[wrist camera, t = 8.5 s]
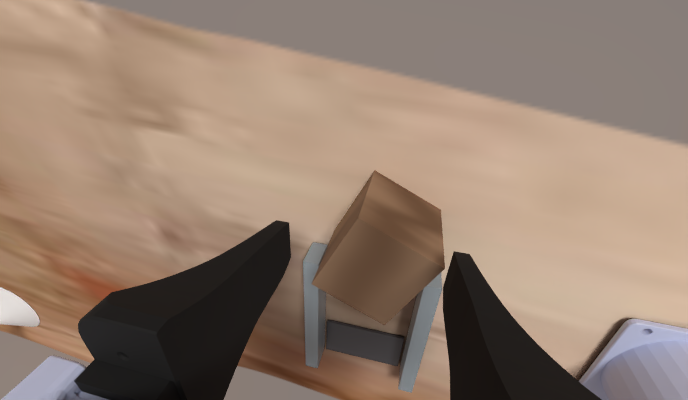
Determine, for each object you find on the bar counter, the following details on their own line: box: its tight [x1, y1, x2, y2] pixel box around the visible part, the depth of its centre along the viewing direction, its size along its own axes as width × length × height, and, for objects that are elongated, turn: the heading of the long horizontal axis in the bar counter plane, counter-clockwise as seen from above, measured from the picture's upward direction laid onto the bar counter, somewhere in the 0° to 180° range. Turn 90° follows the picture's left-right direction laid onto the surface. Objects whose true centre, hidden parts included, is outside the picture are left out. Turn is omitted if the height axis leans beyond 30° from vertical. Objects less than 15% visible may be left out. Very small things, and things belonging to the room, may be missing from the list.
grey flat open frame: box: [303, 242, 442, 393], centre depth 22 cm, size 8×11×2 cm
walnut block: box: [312, 171, 445, 325], centre depth 17 cm, size 4×5×5 cm
